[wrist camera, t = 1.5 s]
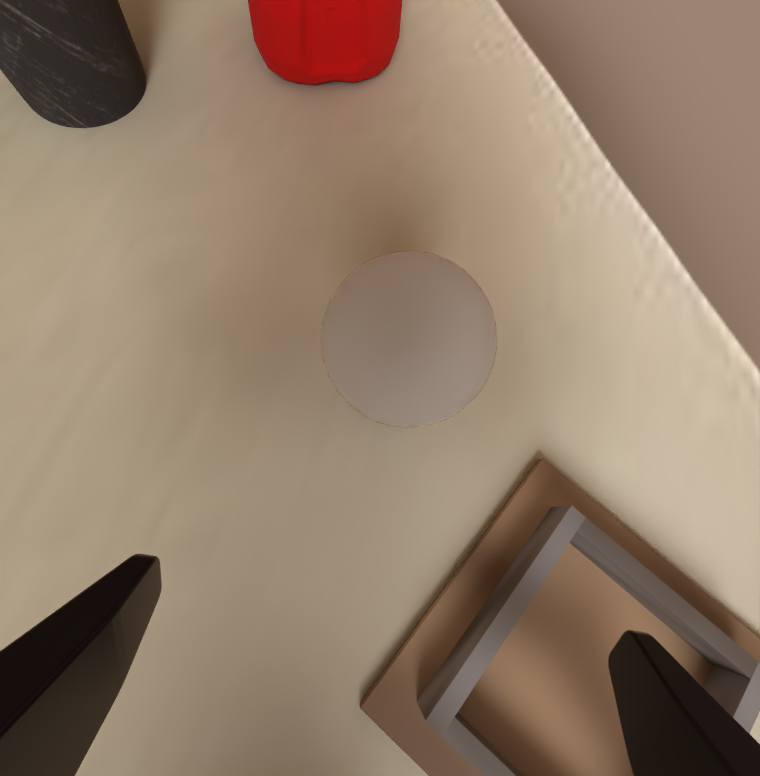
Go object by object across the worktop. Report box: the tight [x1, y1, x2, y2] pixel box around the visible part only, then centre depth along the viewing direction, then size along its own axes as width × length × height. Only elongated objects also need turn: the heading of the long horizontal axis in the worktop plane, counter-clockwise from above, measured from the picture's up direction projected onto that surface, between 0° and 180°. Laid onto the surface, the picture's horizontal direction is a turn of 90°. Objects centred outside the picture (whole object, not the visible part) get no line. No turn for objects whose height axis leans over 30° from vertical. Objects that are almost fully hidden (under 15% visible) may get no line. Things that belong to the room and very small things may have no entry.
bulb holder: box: [360, 458, 760, 776], centre depth 19 cm, size 14×14×2 cm
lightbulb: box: [321, 251, 497, 427], centre depth 18 cm, size 6×6×11 cm
